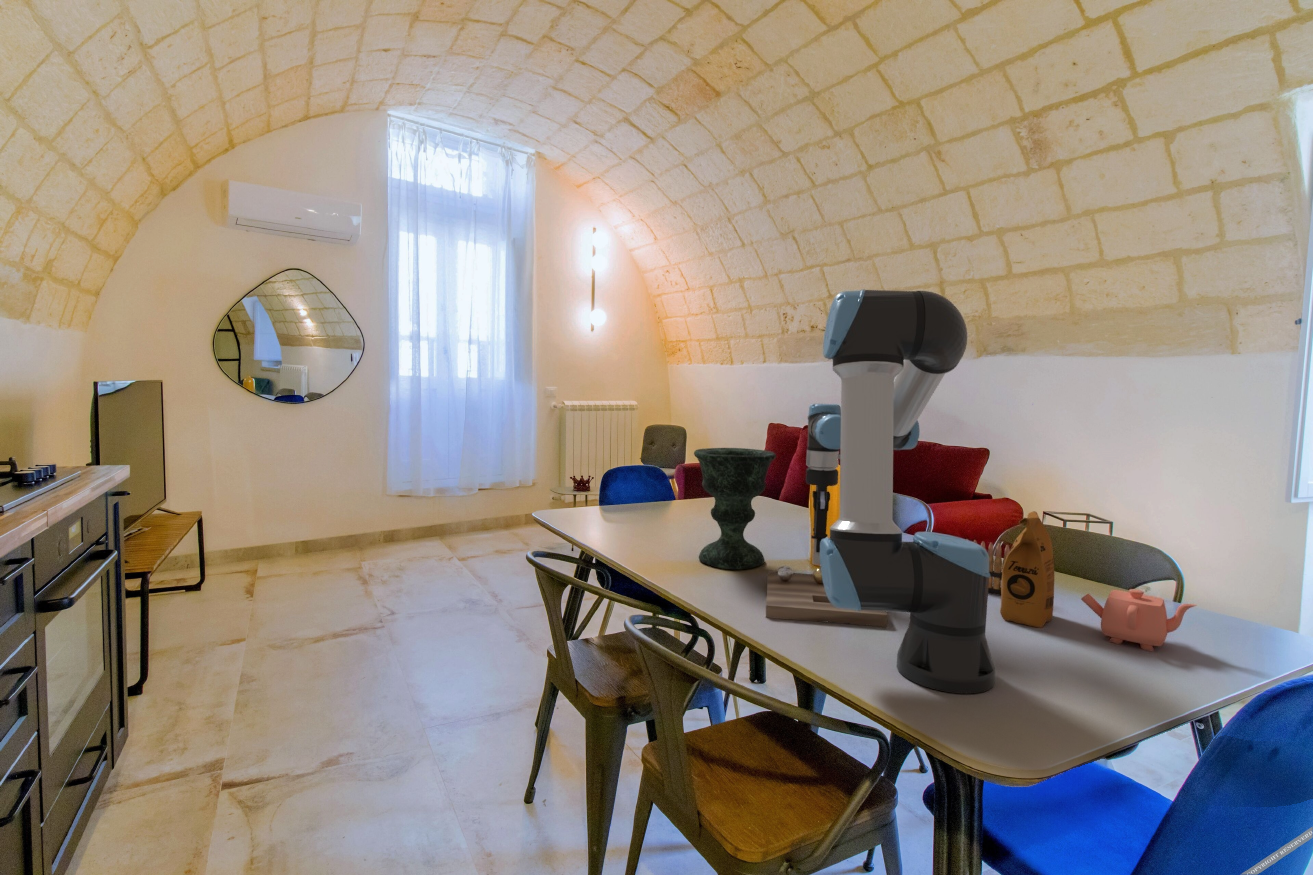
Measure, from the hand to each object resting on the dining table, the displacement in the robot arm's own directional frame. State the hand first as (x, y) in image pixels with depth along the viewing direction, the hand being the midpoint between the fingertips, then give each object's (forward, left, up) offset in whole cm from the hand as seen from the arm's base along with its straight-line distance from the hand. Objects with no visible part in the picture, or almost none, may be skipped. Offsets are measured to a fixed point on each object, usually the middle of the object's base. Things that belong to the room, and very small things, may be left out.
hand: (818, 564), depth 163 cm
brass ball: (-8, 0, -1) cm, 8 cm away
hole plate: (-14, 0, -5) cm, 15 cm away
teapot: (-24, -58, -5) cm, 63 cm away
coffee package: (-14, -42, -5) cm, 45 cm away
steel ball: (-8, +8, -1) cm, 11 cm away
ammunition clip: (+4, -39, -5) cm, 40 cm away
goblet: (+16, +22, -5) cm, 28 cm away
